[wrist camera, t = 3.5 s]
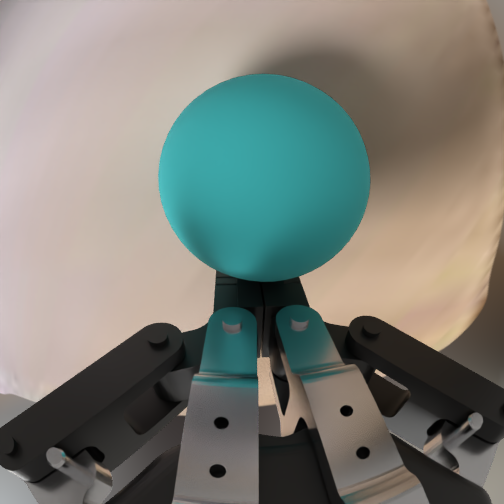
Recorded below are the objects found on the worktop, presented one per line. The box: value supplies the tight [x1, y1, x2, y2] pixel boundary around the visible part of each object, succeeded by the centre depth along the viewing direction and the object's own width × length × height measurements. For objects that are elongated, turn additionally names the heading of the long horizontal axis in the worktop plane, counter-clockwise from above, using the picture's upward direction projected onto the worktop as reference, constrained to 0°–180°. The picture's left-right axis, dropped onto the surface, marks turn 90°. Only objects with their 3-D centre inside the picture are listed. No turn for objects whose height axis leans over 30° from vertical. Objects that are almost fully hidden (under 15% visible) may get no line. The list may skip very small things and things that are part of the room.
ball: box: [158, 74, 370, 282], centre depth 8 cm, size 6×6×6 cm
